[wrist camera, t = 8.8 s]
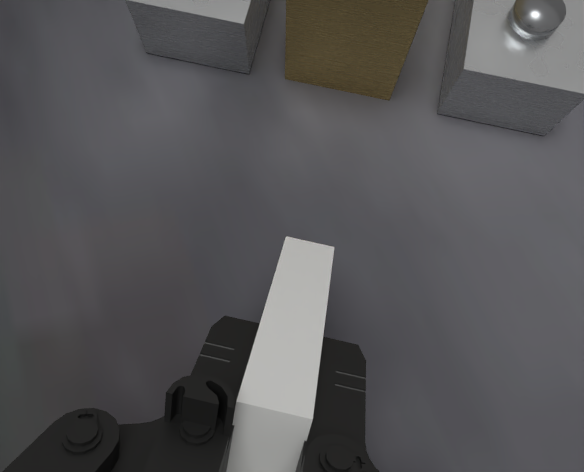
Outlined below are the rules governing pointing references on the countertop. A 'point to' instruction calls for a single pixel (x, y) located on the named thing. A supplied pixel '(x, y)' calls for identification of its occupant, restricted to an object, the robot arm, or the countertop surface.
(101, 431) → the robot arm
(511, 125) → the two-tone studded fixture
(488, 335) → the countertop surface
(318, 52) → the gold studded block
